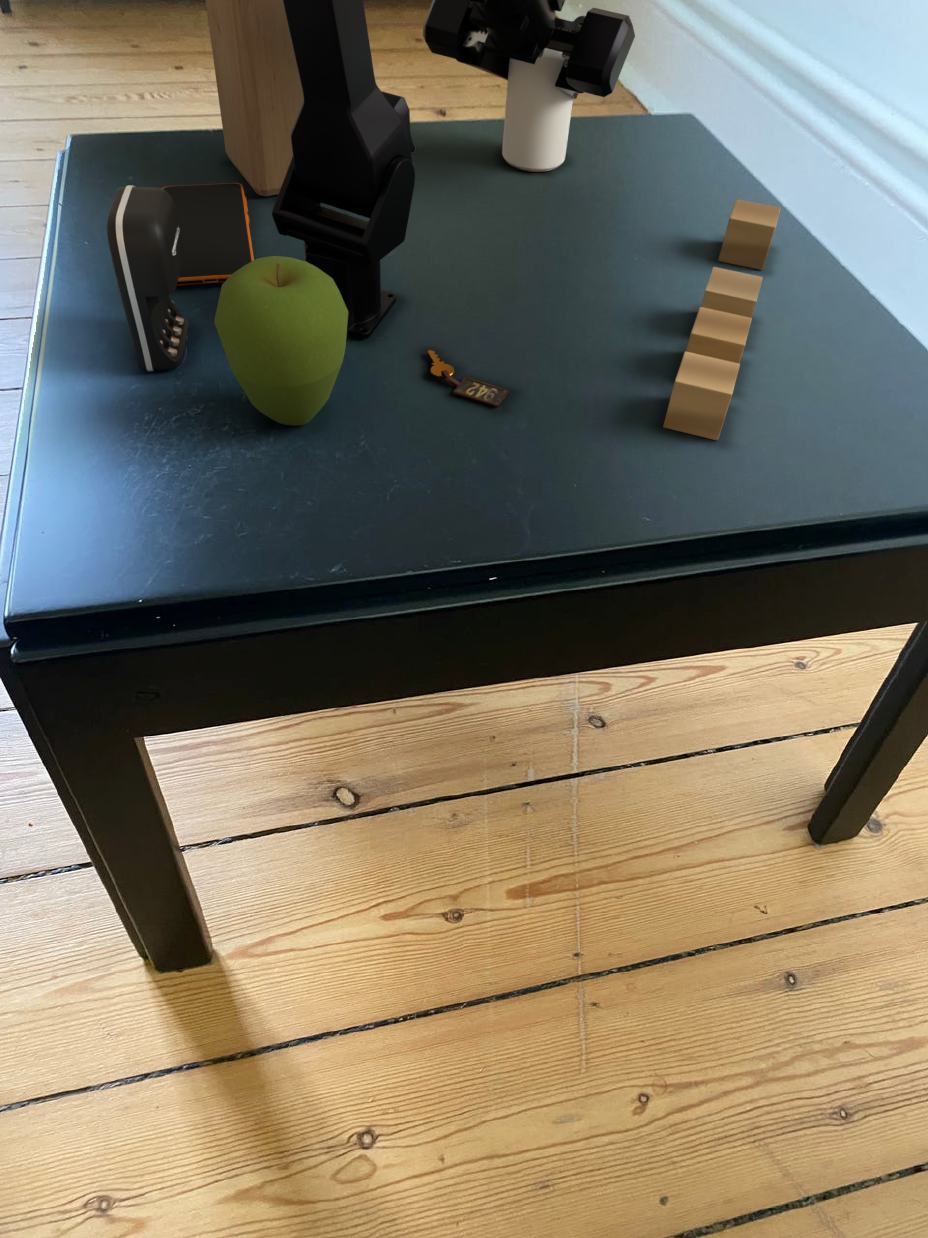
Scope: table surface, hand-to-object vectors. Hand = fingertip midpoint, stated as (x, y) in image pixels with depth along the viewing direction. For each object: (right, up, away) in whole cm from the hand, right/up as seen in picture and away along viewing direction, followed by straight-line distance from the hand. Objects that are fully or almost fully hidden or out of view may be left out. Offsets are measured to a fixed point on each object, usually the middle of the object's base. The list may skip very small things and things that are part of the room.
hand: (546, 85), depth 93 cm
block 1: (+17, -19, -7) cm, 27 cm away
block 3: (+11, -33, -19) cm, 40 cm away
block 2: (+13, -28, -15) cm, 35 cm away
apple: (-20, -38, -26) cm, 50 cm away
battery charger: (-30, -32, -21) cm, 49 cm away
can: (-1, -5, +4) cm, 7 cm away
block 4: (+9, -37, -23) cm, 45 cm away
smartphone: (-31, -19, -10) cm, 37 cm away
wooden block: (-25, -9, 0) cm, 26 cm away
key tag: (-8, -34, -22) cm, 41 cm away
